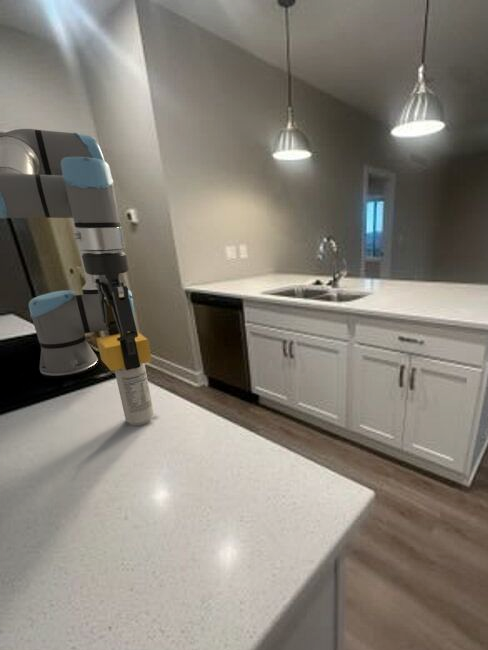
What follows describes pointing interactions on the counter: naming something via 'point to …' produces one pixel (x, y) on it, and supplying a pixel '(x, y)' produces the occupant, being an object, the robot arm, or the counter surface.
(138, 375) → the energy drink can
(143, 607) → the counter surface
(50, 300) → the robot arm
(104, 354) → the block
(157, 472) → the counter surface
